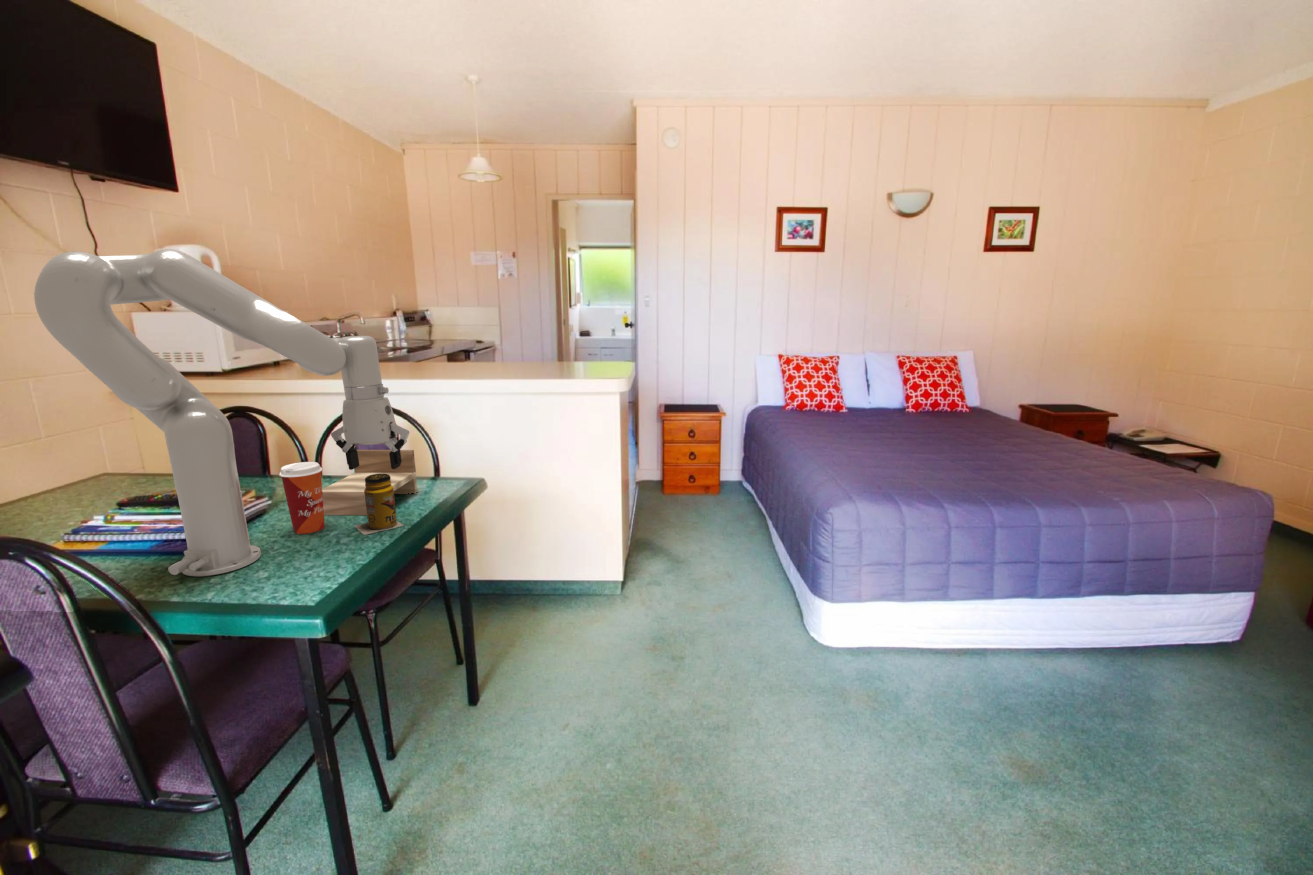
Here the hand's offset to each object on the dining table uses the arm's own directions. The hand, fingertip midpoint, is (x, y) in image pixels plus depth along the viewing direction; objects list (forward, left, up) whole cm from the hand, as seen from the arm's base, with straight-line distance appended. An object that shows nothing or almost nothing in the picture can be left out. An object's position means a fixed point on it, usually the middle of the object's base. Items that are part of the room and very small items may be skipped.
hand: (375, 467), depth 128 cm
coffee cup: (-2, +16, -14) cm, 21 cm away
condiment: (0, +1, -14) cm, 14 cm away
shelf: (+16, +11, -14) cm, 23 cm away
